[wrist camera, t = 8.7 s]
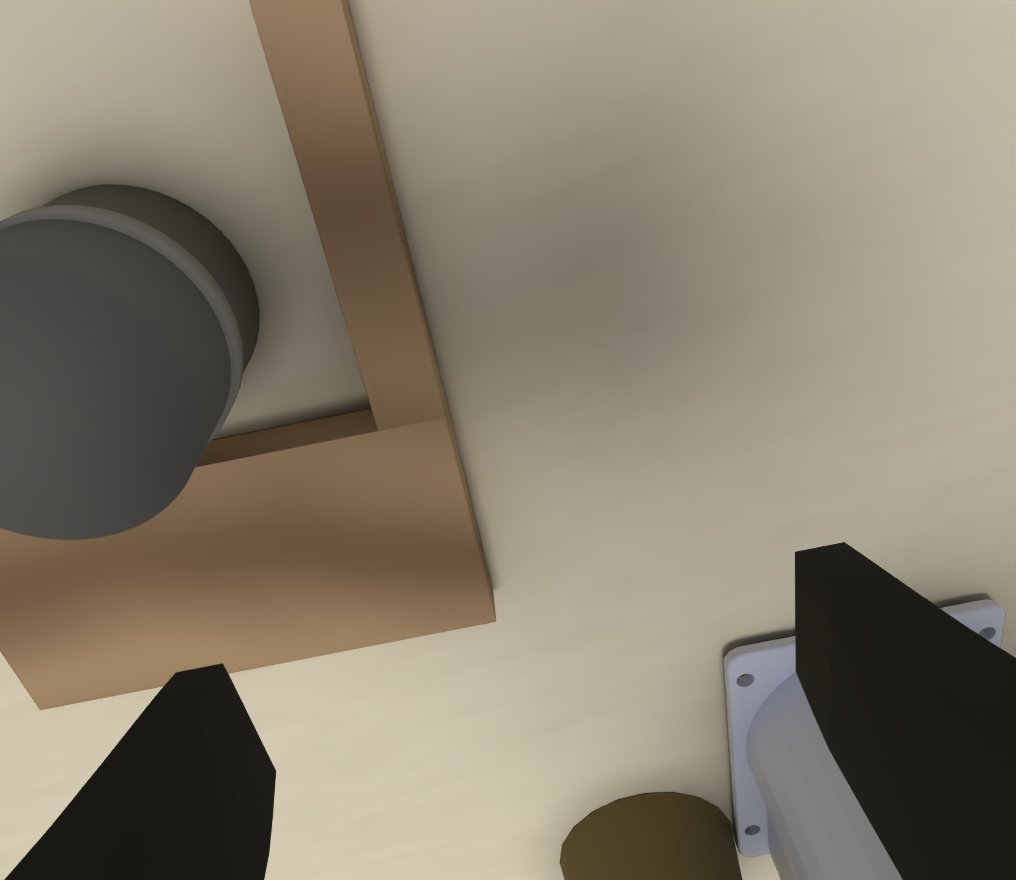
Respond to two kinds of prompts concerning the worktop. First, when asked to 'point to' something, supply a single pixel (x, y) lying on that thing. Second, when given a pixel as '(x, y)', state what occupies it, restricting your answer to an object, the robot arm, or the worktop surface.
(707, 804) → the olive pawn
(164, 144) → the worktop surface
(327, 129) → the brown wooden u-shaped bracket
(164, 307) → the grey flanged cylinder
